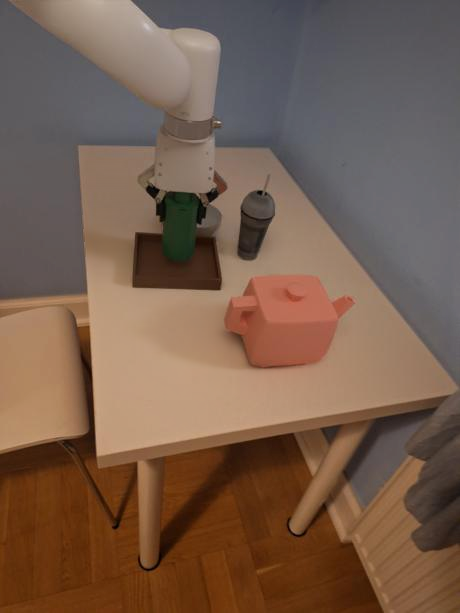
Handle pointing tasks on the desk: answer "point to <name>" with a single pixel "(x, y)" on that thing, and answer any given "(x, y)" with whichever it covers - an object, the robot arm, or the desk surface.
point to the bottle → (179, 225)
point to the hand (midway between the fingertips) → (180, 218)
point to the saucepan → (209, 222)
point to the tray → (175, 265)
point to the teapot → (285, 319)
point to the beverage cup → (255, 222)
